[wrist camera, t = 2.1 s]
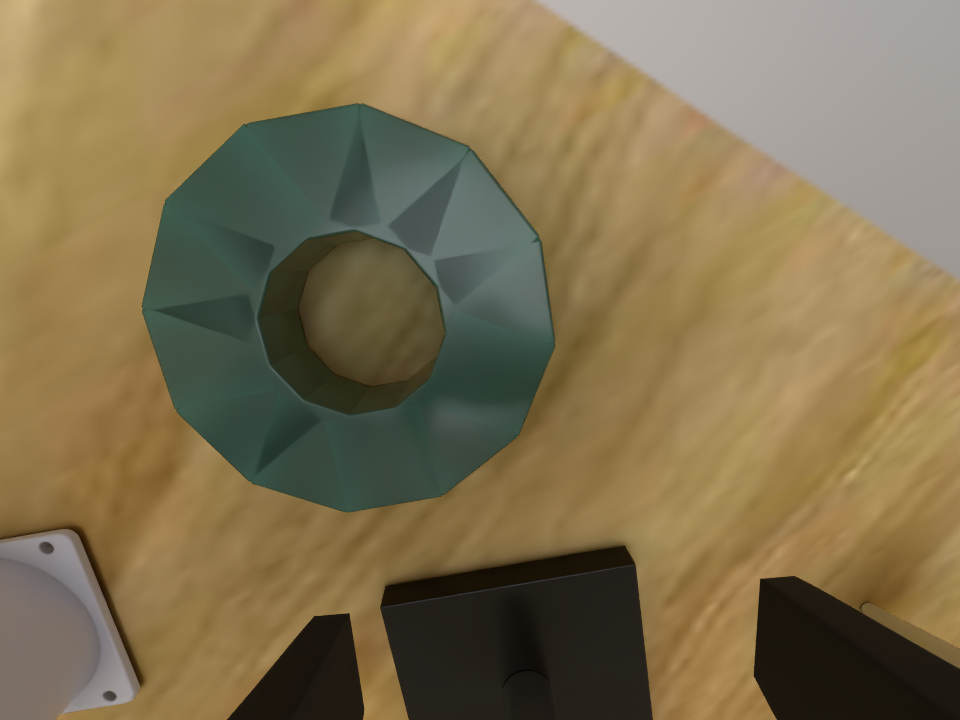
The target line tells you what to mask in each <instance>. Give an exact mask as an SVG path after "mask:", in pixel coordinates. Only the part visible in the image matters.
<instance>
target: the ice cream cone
mask: <svg viewBox="0 0 960 720" xmlns="http://www.w3.org/2000/svg"><path fill="white" fill-rule="evenodd" d="M861 610H862V612H863V613H864V614H865V615H866V616H868V617H870V618H872V619H873V620H875V621H877V622H879V623H880V624H882V625H884V626H886V627H887V628H889V629H891V630H893V631H894V632H896V633H898V634H899V635H901V636H903V637H905V638H906V639H908V640H910V641H912V642H913V643H915V644H917V645H919V646H921V647H922V648H924V649H926V650H928V651H929V652H931V653H933V654H935V655H936V656H938V657H940V658H942V659H943V660H945V661H947V662H949V663H951V664H952V665H954V666H956V667H958V668H959V669H960V649H959V648H957V647H955V646H953V645H951V644H949V643H948V642H946V641H944V640H942V639H940V638H938V637H936V636H934V635H932V634H930V633H928V632H926V631H924V630H922V629H920V628H918V627H916V626H914V625H912V624H910V623H908V622H906V621H904V620H902V619H901V618H899V617H897V616H895V615H893V614H891V613H889V612H887V611H885V610H883V609H881V608H879V607H877V606H875V605H873V604H871V603H865V604H863V605H862V608H861Z"/></svg>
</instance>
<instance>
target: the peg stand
mask: <svg viewBox="0 0 960 720" xmlns="http://www.w3.org/2000/svg"><path fill="white" fill-rule="evenodd" d="M380 609H381V612H382V616H383V620H384V624H385V628H386V632H387V636H388V640H389V644H390V648H391V652H392V655H393V659H394V663H395V667H396V671H397V675H398V679H399V683H400V687H401V691H402V694H403V698H404V702H405V706H406V710H407V714H408V718H409V720H653V717H652V708H651V699H650V690H649V681H648V672H647V663H646V654H645V645H644V636H643V627H642V618H641V609H640V600H639V591H638V582H637V573H636V564H635V563H634V561H633V559H632V557H631V555H630V554H629V552H628V550H627V548H626V546H620V547H614V548H608V549H602V550H596V551H590V552H584V553H579V554H573V555H567V556H561V557H555V558H549V559H543V560H537V561H531V562H526V563H520V564H514V565H508V566H502V567H496V568H490V569H484V570H478V571H473V572H467V573H461V574H455V575H449V576H443V577H437V578H431V579H425V580H420V581H414V582H408V583H402V584H396V585H390V586H386V587H385V590H384V594H383V598H382V602H381V606H380Z"/></svg>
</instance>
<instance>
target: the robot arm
mask: <svg viewBox="0 0 960 720" xmlns="http://www.w3.org/2000/svg"><path fill="white" fill-rule="evenodd" d="M49 543H50V544H52V546H51V545H50V544H49ZM754 677H755V679H756V681H757V683H758V685H759V687H760V689H761V691H762V693H763V695H764V696H765V698H766V700H767V702H768V704H769V706H770V708H771V710H772V712H773V714H774V715H775V717H776V719H777V720H960V669H959V668H958V667H956V666H954V665H952V664H951V663H949V662H947V661H945V660H943V659H942V658H940V657H938V656H936V655H935V654H933V653H931V652H929V651H928V650H926V649H924V648H922V647H921V646H919V645H917V644H915V643H913V642H912V641H910V640H908V639H906V638H905V637H903V636H901V635H899V634H898V633H896V632H894V631H893V630H891V629H889V628H887V627H886V626H884V625H882V624H880V623H879V622H877V621H875V620H873V619H872V618H870V617H868V616H866V615H865V614H863V613H861V612H859V611H858V610H856V609H854V608H852V607H851V606H849V605H847V604H845V603H844V602H842V601H840V600H838V599H837V598H835V597H833V596H831V595H829V594H828V593H826V592H824V591H822V590H820V589H819V588H817V587H815V586H813V585H811V584H809V583H807V582H805V581H803V580H801V579H800V578H798V577H796V576H790V577H778V578H766V579H760V591H759V606H758V620H757V635H756V650H755V665H754ZM139 690H140V685H139V682H138V680H137V677H136V675H135V672H134V670H133V667H132V665H131V662H130V660H129V657H128V655H127V653H126V650H125V648H124V645H123V643H122V640H121V638H120V635H119V633H118V630H117V628H116V626H115V623H114V621H113V618H112V616H111V613H110V611H109V608H108V606H107V603H106V601H105V599H104V596H103V594H102V591H101V589H100V586H99V584H98V581H97V579H96V576H95V574H94V572H93V569H92V567H91V564H90V562H89V559H88V557H87V554H86V552H85V549H84V547H83V545H82V542H81V540H80V537H79V536H78V534H77V533H75V532H74V531H72V530H69V529H60V530H54V531H48V532H42V533H36V534H31V535H25V536H19V537H13V538H7V539H1V540H0V720H56V719H57V717H58V716H59V715H60V714H63V713H69V712H75V711H81V710H87V709H93V708H98V707H104V706H110V705H116V704H122V703H127V702H130V701H132V700H133V699H134V698H135V696H136V695H137V694H138V692H139ZM363 715H364V704H363V697H362V691H361V685H360V678H359V672H358V666H357V659H356V653H355V646H354V640H353V634H352V627H351V621H350V614H349V613H348V614H336V615H324V616H314V617H313V618H312V620H311V621H310V622H309V623H308V624H307V625H306V626H305V628H304V629H303V630H302V631H301V632H300V633H299V635H298V636H297V637H296V638H295V639H294V641H293V642H292V643H291V644H290V645H289V647H288V648H287V649H286V650H285V651H284V653H283V654H282V655H281V656H280V658H279V659H278V660H277V661H276V662H275V664H274V665H273V666H272V667H271V668H270V670H269V671H268V672H267V673H266V674H265V676H264V677H263V678H262V679H261V680H260V682H259V683H258V684H257V685H256V686H255V688H254V689H253V690H252V691H251V692H250V694H249V695H248V696H247V697H246V698H245V699H244V701H243V702H242V703H241V704H240V705H239V706H238V707H237V709H236V710H235V711H234V712H233V713H232V714H231V716H230V717H229V718H228V719H227V720H363Z"/></svg>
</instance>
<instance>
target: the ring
mask: <svg viewBox="0 0 960 720" xmlns="http://www.w3.org/2000/svg"><path fill="white" fill-rule="evenodd" d="M370 238H374V239H377V240H380V241H382V242H385V243H388V244H390V245H393V246H396V247H398V248H401V249H404V250H405V252H406V253H407V254H408V255H409V256H410V257H411V259H412V260H413V261H414V262H415V263H416V265H417V266H418V267H419V268H420V269H421V270H422V272H423V273H424V274H425V275H426V276H427V278H428V279H429V280H430V281H431V282H432V283H433V285H434V286H435V287H436V290H437V295H438V301H439V306H440V311H441V316H442V321H443V327H444V332H445V334H444V337H443V339H442V342H441V345H440V348H439V351H438V354H437V356H436V358H434V359H433V360H432V361H431V362H430V363H428V364H427V365H426V366H425V367H424V368H422V369H421V370H420V371H419V372H418V373H416V374H415V375H414V376H413V377H412V378H410V379H409V380H408V381H402V382H396V383H391V384H385V385H379V386H373V387H369V386H366V385H363V384H361V383H358V382H355V381H352V380H349V379H346V378H343V377H340V376H337V375H334V374H333V373H332V372H331V371H330V370H329V369H328V368H327V366H326V365H325V364H324V363H323V362H322V361H321V360H320V359H319V358H318V357H317V356H316V355H315V354H314V353H313V352H312V351H311V349H310V348H309V347H308V346H307V343H306V339H305V335H304V332H303V328H302V324H301V320H300V316H299V312H298V304H299V301H300V297H301V294H302V290H303V287H304V283H305V280H306V276H307V273H308V271H309V270H310V269H311V268H312V267H313V266H314V265H315V264H316V263H317V262H319V261H320V260H321V259H322V258H323V257H324V256H325V255H326V254H327V253H329V252H330V251H331V250H332V249H333V248H334V247H335V246H336V245H337V244H341V243H347V242H353V241H358V240H364V239H370ZM142 308H143V310H142V313H143V316H144V319H145V322H146V325H147V328H148V331H149V334H150V337H151V340H152V343H153V346H154V349H155V352H156V355H157V358H158V361H159V364H160V367H161V370H162V373H163V376H164V379H165V382H166V385H167V388H168V391H169V394H170V397H171V400H172V403H173V406H174V408H175V409H176V410H177V411H176V412H177V413H178V414H179V415H180V416H181V417H182V418H183V419H184V420H185V421H186V422H187V423H188V424H189V425H191V426H192V427H193V428H194V429H195V430H196V431H197V432H198V433H199V434H200V435H201V436H202V437H203V438H204V439H205V440H206V441H207V442H208V443H209V444H210V445H211V446H212V447H214V448H215V449H216V450H217V451H218V452H219V453H220V454H221V455H222V456H223V457H224V458H225V459H226V460H227V461H228V462H229V463H230V464H231V465H232V466H233V467H234V468H235V469H237V470H238V471H239V472H240V473H241V474H242V475H243V476H244V477H245V478H246V479H247V480H248V481H250V482H251V483H252V484H255V485H259V486H262V487H265V488H268V489H271V490H275V491H278V492H281V493H284V494H288V495H291V496H294V497H297V498H301V499H304V500H307V501H310V502H313V503H317V504H320V505H323V506H326V507H330V508H333V509H336V510H339V511H343V512H346V511H347V512H354V511H360V510H366V509H371V508H377V507H383V506H389V505H395V504H400V503H406V502H412V501H418V500H424V499H430V498H435V497H441V496H442V495H444V494H446V493H447V492H448V491H449V490H451V489H452V488H453V487H454V486H456V485H457V484H458V483H460V482H461V481H462V480H463V479H465V478H466V477H467V476H468V475H470V474H471V473H472V472H474V471H475V470H476V469H477V468H479V467H480V466H481V465H482V464H484V463H485V462H486V461H488V460H489V459H490V458H491V457H493V456H494V455H495V454H497V453H498V452H499V451H500V450H502V449H503V448H504V447H505V446H507V445H508V444H509V443H511V442H512V441H513V440H514V439H516V437H517V436H518V435H519V434H520V431H521V429H522V426H523V424H524V421H525V419H526V416H527V414H528V412H529V409H530V407H531V404H532V402H533V399H534V397H535V394H536V392H537V390H538V387H539V385H540V382H541V380H542V377H543V375H544V372H545V370H546V367H547V365H548V363H549V360H550V358H551V355H552V353H553V350H554V348H555V344H554V343H555V335H554V328H553V321H552V314H551V306H550V299H549V292H548V285H547V277H546V270H545V263H544V256H543V249H542V242H541V240H540V239H539V235H538V233H537V232H536V231H535V230H534V228H533V227H532V226H531V224H530V223H529V222H528V221H527V219H526V218H525V217H524V215H523V214H522V213H521V211H520V210H519V209H518V208H517V206H516V205H515V204H514V202H513V201H512V200H511V199H510V197H509V196H508V195H507V193H506V192H505V191H504V189H503V188H502V187H501V186H500V184H499V183H498V182H497V180H496V179H495V178H494V177H493V175H492V174H491V173H490V171H489V170H488V169H487V168H486V166H485V165H484V164H483V162H482V161H481V160H480V158H479V157H478V156H477V155H476V153H475V152H474V151H473V150H472V149H470V147H469V146H467V145H465V144H462V143H460V142H457V141H455V140H452V139H450V138H447V137H445V136H442V135H440V134H438V133H435V132H433V131H430V130H428V129H425V128H423V127H420V126H418V125H415V124H413V123H410V122H408V121H405V120H403V119H400V118H398V117H395V116H393V115H390V114H388V113H385V112H383V111H380V110H378V109H375V108H373V107H370V106H368V105H366V104H357V103H356V104H351V105H345V106H340V107H334V108H328V109H323V110H317V111H312V112H306V113H301V114H295V115H290V116H284V117H279V118H273V119H267V120H262V121H256V122H251V123H248V124H247V125H246V124H243V125H242V126H241V127H240V128H239V129H238V130H237V131H236V132H235V133H234V134H233V135H232V136H231V137H230V138H229V139H228V140H227V141H226V142H225V143H224V144H223V145H222V146H221V147H220V148H219V149H218V150H217V151H216V152H214V153H213V154H212V155H211V156H210V157H209V158H208V159H207V160H206V161H205V162H204V163H203V164H202V165H201V166H200V167H199V168H198V169H197V170H196V171H195V172H194V173H193V174H192V175H191V176H190V177H189V178H188V179H187V180H186V181H185V182H184V183H183V184H182V185H181V186H180V187H179V188H177V189H176V190H175V191H174V192H173V193H172V194H171V195H170V196H169V197H168V198H167V199H166V200H165V204H164V206H163V211H162V215H161V220H160V225H159V229H158V234H157V238H156V243H155V248H154V252H153V257H152V261H151V266H150V271H149V275H148V280H147V284H146V289H145V294H144V298H143V303H142Z"/></svg>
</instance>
